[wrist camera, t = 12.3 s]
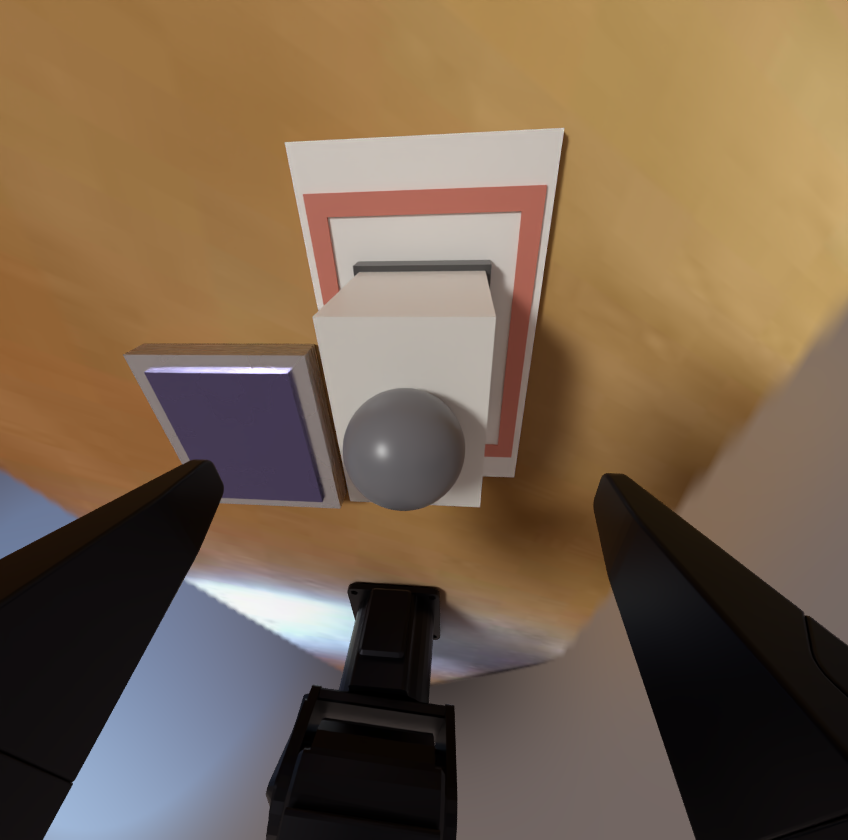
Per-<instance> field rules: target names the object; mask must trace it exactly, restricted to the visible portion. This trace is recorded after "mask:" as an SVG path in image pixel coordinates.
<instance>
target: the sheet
mask: <svg viewBox="0 0 848 840" xmlns="http://www.w3.org/2000/svg"><path fill="white" fill-rule="evenodd" d="M563 134H564V128H553V129H534V130H514V131H495V132H475V133H456V134H437V135H417V136H398V137H379V138H359V139H340V140H320V141H301V142H285V146H286V151H287V156H288V161H289V166H290V171H291V176H292V181H293V186H294V191H295V196H296V201H297V206H298V211H299V216H300V221H301V226H302V231H303V236H304V241H305V246H306V251H307V256H308V261H309V266H310V271H311V276H312V281H313V286H314V291H315V296H316V301H317V306H318V311H319V310H320V309H321V308H322V307H323V306H324V305H325V304H326V303H327V302H328V301H329V300H330V299H332V298H333V297H334V296H335V295H336V294H337V293H338V292H339V291H340V290H341V289H342V288H343V287H344V286H345V285H346V284H347V283H348V282H349V281H350V280H351V279H352V278H353V277H354V272H353V265H355V264H356V263H357V262H358V261H433V260H490V261H491V264H492V268H491V281H490V293H491V297H492V302H493V306H494V310H495V314H496V324H495V335H494V347H493V359H492V371H491V382H490V394H489V406H488V418H487V429H486V441H485V453H484V465H483V476H489V477H514V475H515V468H516V461H517V454H518V447H519V440H520V433H521V426H522V419H523V412H524V405H525V399H526V392H527V385H528V378H529V371H530V364H531V357H532V350H533V343H534V336H535V329H536V322H537V315H538V308H539V301H540V294H541V287H542V280H543V273H544V266H545V259H546V252H547V245H548V238H549V231H550V224H551V217H552V211H553V204H554V197H555V190H556V183H557V176H558V169H559V162H560V155H561V148H562V141H563Z"/></svg>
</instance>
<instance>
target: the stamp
mask: <svg viewBox="0 0 848 840" xmlns="http://www.w3.org/2000/svg"><path fill="white" fill-rule="evenodd" d="M491 268H492V264H491V261H490V260H433V261H358V262H357V263H356V264H355V265H353V272H354V277H353V278H352V279H351V280H350V281H349V282H348V283H347V284H346V285H345V286H344V287H343V288H342V289H341V290H340V291H339V292H338V293H337V294H336V295H335V296H334V297H333V298H332V299H330V300H329V301H328V302H327V303H326V304H325V305H324V306H323V307H322V308H321V309H320V310H319V311H318V312H317V313H316V314H315V315H314V316H313V321H314V326H315V331H316V336H317V341H318V346H319V351H320V356H321V361H322V365H323V370H324V375H325V380H326V385H327V390H328V395H329V400H330V405H331V410H332V414H333V419H334V424H335V429H336V434H337V439H338V444H339V449H340V454H341V458H342V463H343V468H344V473H345V478H346V483H347V488H348V493H349V498H350V501H358V502H373V503H375V504H377V505H379V506H381V507H384V508H387V509H391V510H399V511H409V510H416V509H420V508H424V507H426V506H428V505H443V506H464V507H480V500H481V488H482V476H483V465H484V453H485V441H486V429H487V418H488V406H489V394H490V382H491V371H492V359H493V347H494V335H495V324H496V314H495V310H494V306H493V302H492V297H491V293H490V281H491Z"/></svg>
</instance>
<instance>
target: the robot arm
mask: <svg viewBox="0 0 848 840" xmlns="http://www.w3.org/2000/svg"><path fill="white" fill-rule="evenodd" d="M223 493H224V484H223V482H222V480H221V478H220V475H219V473H218V471H217V469H216V467H215V465H214V463H213V462H212V461H210V460H204V459H193V460H190V461H188V462H186V463H184V464H182V465H180V466H178V467H176V468H174V469H173V470H171V471H169V472H167V473H165V474H163V475H161V476H159V477H157V478H155V479H153V480H151V481H150V482H148V483H146V484H144V485H142V486H140V487H138V488H136V489H134V490H132V491H130V492H128V493H126V494H125V495H123V496H121V497H119V498H117V499H115V500H113V501H111V502H109V503H107V504H105V505H103V506H102V507H100V508H98V509H96V510H94V511H92V512H90V513H88V514H86V515H84V516H82V517H80V518H79V519H77V520H75V521H73V522H71V523H69V524H67V525H65V526H63V527H61V528H59V529H57V530H56V531H54V532H52V533H50V534H48V535H46V536H44V537H42V538H40V539H38V540H36V541H34V542H32V543H31V544H29V545H27V546H25V547H23V548H21V549H19V550H17V551H15V552H13V553H11V554H9V555H8V556H6V557H4V558H2V559H0V840H43V838H44V836H45V835H46V833H47V831H48V829H49V827H50V825H51V823H52V822H53V820H54V818H55V816H56V814H57V812H58V811H59V809H60V807H61V805H62V803H63V801H64V799H65V798H66V796H67V794H68V792H69V790H70V789H71V786H72V785H73V783H72V782H73V781H74V780H75V779H76V777H77V775H78V773H79V771H80V769H81V768H82V766H83V764H84V762H85V760H86V758H87V757H88V755H89V753H90V751H91V749H92V747H93V745H94V744H95V742H96V740H97V738H98V736H99V735H100V733H101V731H102V729H103V727H104V725H105V723H106V722H107V720H108V718H109V716H110V714H111V713H112V711H113V709H114V707H115V705H116V703H117V702H118V700H119V698H120V696H121V694H122V692H123V690H124V689H125V687H126V685H127V683H128V681H129V679H130V677H131V676H132V674H133V672H134V670H135V668H136V667H137V665H138V663H139V661H140V659H141V657H142V656H143V654H144V652H145V650H146V648H147V646H148V645H149V643H150V641H151V639H152V637H153V635H154V633H155V632H156V630H157V628H158V626H159V624H160V622H161V621H162V619H163V617H164V615H165V613H166V611H167V610H168V607H169V606H170V604H171V602H172V600H173V598H174V597H175V595H176V593H177V591H178V589H179V587H180V586H181V584H182V582H183V580H184V578H185V576H186V575H187V573H188V571H189V569H190V567H191V565H192V564H193V562H194V560H195V558H196V556H197V554H198V552H199V550H200V548H201V545H202V543H203V541H204V539H205V536H206V534H207V532H208V529H209V527H210V524H211V522H212V520H213V517H214V515H215V513H216V510H217V508H218V505H219V503H220V501H221V498H222V496H223ZM593 506H594V513H595V518H596V523H597V527H598V532H599V537H600V542H601V546H602V551H603V556H604V561H605V565H606V570H607V574H608V577H609V581H610V584H611V587H612V590H613V593H614V596H615V599H616V602H617V605H618V608H619V611H620V614H621V617H622V620H623V623H624V626H625V629H626V632H627V635H628V638H629V641H630V644H631V647H632V650H633V653H634V656H635V659H636V662H637V665H638V668H639V671H640V674H641V677H642V680H643V683H644V686H645V689H646V692H647V695H648V698H649V701H650V704H651V707H652V710H653V713H654V716H655V719H656V722H657V725H658V728H659V731H660V734H661V737H662V740H663V743H664V746H665V749H666V752H667V755H668V758H669V761H670V764H671V767H672V770H673V773H674V776H675V779H676V782H677V785H678V788H679V791H680V794H681V797H682V800H683V803H684V806H685V809H686V812H687V815H688V818H689V821H690V824H691V827H692V830H693V833H694V836H695V839H696V840H848V645H847V644H845V643H844V642H843V641H841V640H840V639H839V638H837V637H836V636H835V635H834V634H832V633H831V632H830V631H828V630H827V629H826V628H824V627H823V626H822V625H820V624H819V623H818V622H817V621H815V620H814V619H813V618H811V617H810V616H805V615H804V612H803V611H802V610H801V609H799V608H798V607H797V606H796V605H794V604H793V603H792V602H790V601H789V600H788V599H786V598H785V597H784V596H783V595H781V594H780V593H778V592H777V591H776V590H775V589H773V588H772V587H771V586H770V585H768V584H767V583H766V582H764V581H763V580H762V579H760V578H759V577H758V576H757V575H755V574H754V573H753V572H751V571H750V570H749V569H747V568H746V567H745V566H743V565H742V564H741V563H740V562H738V561H737V560H736V559H734V558H733V557H732V556H730V555H729V554H728V553H727V552H725V551H724V550H723V549H721V548H720V547H719V546H718V545H716V544H715V543H714V542H712V541H711V540H710V539H708V538H707V537H706V536H705V535H703V534H702V533H701V532H699V531H698V530H697V529H695V528H694V527H693V526H692V525H690V524H689V523H688V522H686V521H685V520H684V519H682V518H681V517H680V516H679V515H677V514H676V513H675V512H673V511H672V510H671V509H669V508H668V507H667V506H666V505H664V504H663V503H662V502H660V501H659V500H658V499H656V498H655V497H654V496H653V495H651V494H650V493H649V492H647V491H646V490H645V489H643V488H642V487H641V486H640V485H638V484H637V483H636V482H634V481H633V480H632V479H630V478H629V477H628V476H626V475H624V474H615V473H606V474H604V475H603V476H602V477H601V480H600V483H599V486H598V489H597V492H596V495H595V498H594V504H593ZM348 596H349V600H350V603H351V607H352V610H353V614H354V618H355V624H354V628H353V632H352V637H351V641H350V645H349V649H348V653H347V658H346V662H345V666H344V670H343V674H342V678H341V683H340V687H339V690H334V689H327V688H322V686H319V685H312V688H311V690H310V693H309V694H305V695H304V696H303V700H302V703H301V707H300V710H299V713H298V716H297V719H296V722H295V725H294V728H293V730H292V733H291V735H290V738H289V740H288V742H287V744H286V746H285V748H284V751H283V753H282V755H281V757H280V759H279V762H278V764H277V766H276V768H275V770H274V773H273V775H272V777H271V779H270V782H269V785H268V787H267V791H266V797H267V799H268V803H269V805H270V810H269V821H268V826H267V834H266V840H456V832H457V772H456V771H457V770H456V741H455V712H454V705H449V704H445V706H443V705H436V704H429V693H430V677H431V661H432V646H433V640H437V639H439V638H440V593H439V591H438V590H437V589H434V588H420V587H404V586H389V585H373V584H358V583H352V584H350V585H349V587H348ZM434 742H435V743H434Z"/></svg>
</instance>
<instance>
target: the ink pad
mask: <svg viewBox="0 0 848 840" xmlns="http://www.w3.org/2000/svg"><path fill="white" fill-rule="evenodd" d="M123 356H124V357H125V359H126V361H127V363H128V365H129V367H130V369H131V370H132V372H133V374H134V376H135V378H136V380H137V381H138V383H139V385H140V387H141V389H142V391H143V393H144V394H145V396H146V398H147V400H148V402H149V404H150V405H151V407H152V409H153V411H154V413H155V415H156V417H157V418H158V420H159V422H160V424H161V426H162V428H163V429H164V431H165V433H166V435H167V437H168V439H169V441H170V442H171V444H172V446H173V448H174V450H175V452H176V453H177V455H178V457H179V459H180V461H181V463H182V464H184V463H186V462H188V461H190V460H193V459H204V460H210V461H212V462H213V463H214V465H215V467H216V469H217V471H218V473H219V475H220V478H221V480H222V482H223V484H224V493H223V496H222V498H221V501H220V503H230V504H252V505H274V506H297V507H319V508H341V506H342V503H343V501H344V498H345V495H346V488H345V483H344V479H343V474H342V469H341V465H340V460H339V456H338V451H337V446H336V442H335V437H334V433H333V428H332V423H331V419H330V414H329V410H328V405H327V400H326V396H325V391H324V387H323V382H322V377H321V373H320V368H319V363H318V359H317V354H316V350H315V345H314V344H142V345H140V346H138V347H137V348H135V349H133V350H131V351H129V352H127V353H125V354H123Z"/></svg>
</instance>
